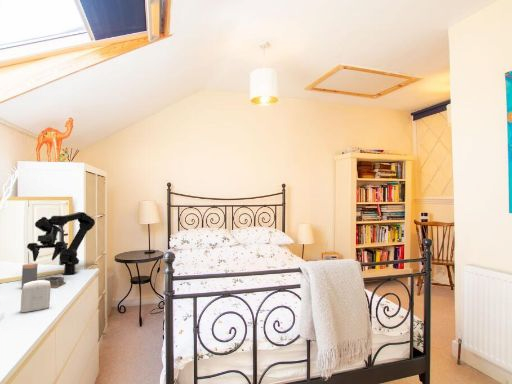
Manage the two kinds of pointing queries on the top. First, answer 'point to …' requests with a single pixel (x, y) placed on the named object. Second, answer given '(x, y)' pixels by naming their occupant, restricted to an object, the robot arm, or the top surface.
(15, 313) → the top surface
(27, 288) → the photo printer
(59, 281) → the holder
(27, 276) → the connector
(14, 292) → the top surface
